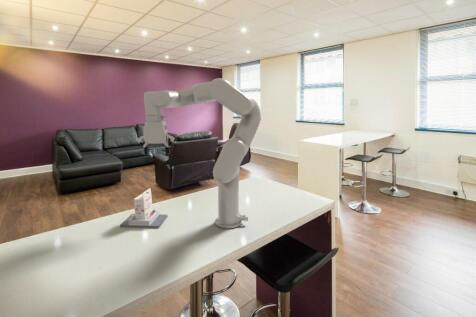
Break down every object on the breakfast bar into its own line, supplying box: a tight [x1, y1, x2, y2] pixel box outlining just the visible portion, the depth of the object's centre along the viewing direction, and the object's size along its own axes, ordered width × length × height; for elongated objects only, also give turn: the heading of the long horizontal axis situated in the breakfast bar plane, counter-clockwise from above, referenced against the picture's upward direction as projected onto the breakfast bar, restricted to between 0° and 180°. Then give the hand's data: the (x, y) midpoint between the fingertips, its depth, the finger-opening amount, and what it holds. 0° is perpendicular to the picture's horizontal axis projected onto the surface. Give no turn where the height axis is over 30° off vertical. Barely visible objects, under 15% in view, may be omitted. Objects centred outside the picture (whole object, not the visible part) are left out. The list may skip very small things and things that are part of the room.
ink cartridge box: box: [133, 187, 154, 220], centre depth 129 cm, size 9×5×15 cm, turn 172°
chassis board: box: [119, 209, 169, 229], centre depth 130 cm, size 18×13×4 cm
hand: (157, 155), depth 130 cm, fingers open, 9 cm apart
